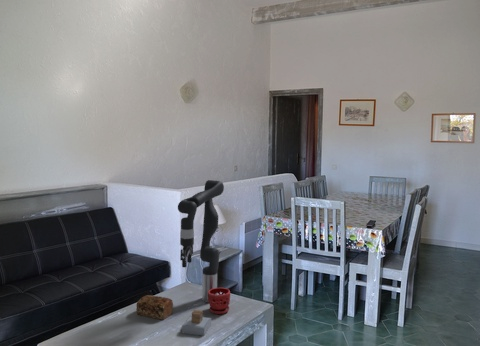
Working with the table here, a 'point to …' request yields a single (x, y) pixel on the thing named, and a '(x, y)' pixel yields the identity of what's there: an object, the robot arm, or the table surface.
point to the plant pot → (219, 300)
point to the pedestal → (196, 326)
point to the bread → (155, 307)
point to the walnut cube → (197, 316)
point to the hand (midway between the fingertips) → (186, 264)
